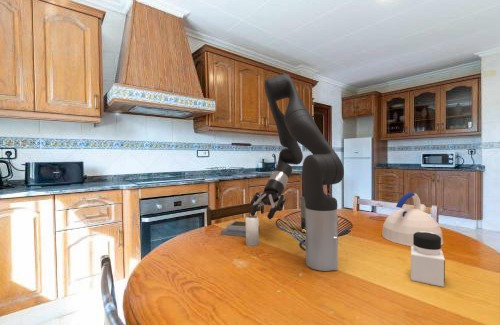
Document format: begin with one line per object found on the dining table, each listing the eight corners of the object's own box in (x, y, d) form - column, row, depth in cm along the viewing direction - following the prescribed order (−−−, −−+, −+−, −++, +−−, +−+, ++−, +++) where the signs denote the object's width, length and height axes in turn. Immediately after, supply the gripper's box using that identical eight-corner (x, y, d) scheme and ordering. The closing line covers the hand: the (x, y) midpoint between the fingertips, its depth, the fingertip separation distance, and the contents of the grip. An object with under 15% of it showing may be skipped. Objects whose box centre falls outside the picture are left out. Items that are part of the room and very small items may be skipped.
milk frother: (296, 232, 111) (296, 198, 111) (310, 224, 124) (310, 193, 124) (329, 238, 103) (329, 201, 102) (341, 228, 116) (340, 195, 115)
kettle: (452, 240, 99) (453, 193, 98) (429, 252, 87) (429, 198, 86) (397, 228, 115) (397, 187, 115) (371, 237, 104) (371, 192, 103)
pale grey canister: (260, 242, 99) (260, 215, 98) (256, 246, 94) (256, 218, 94) (248, 241, 100) (248, 214, 100) (244, 245, 96) (243, 217, 95)
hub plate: (259, 229, 116) (259, 221, 116) (250, 237, 105) (249, 228, 105) (232, 226, 121) (232, 219, 121) (221, 234, 109) (221, 226, 109)
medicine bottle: (444, 287, 64) (445, 239, 63) (410, 280, 68) (410, 235, 67) (442, 276, 70) (442, 231, 69) (410, 270, 74) (410, 228, 73)
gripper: (259, 177, 112) (241, 208, 103) (287, 179, 102) (270, 213, 94) (266, 188, 116) (250, 219, 107) (294, 191, 107) (279, 224, 98)
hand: (260, 216), depth 101 cm, fingers open, 8 cm apart
